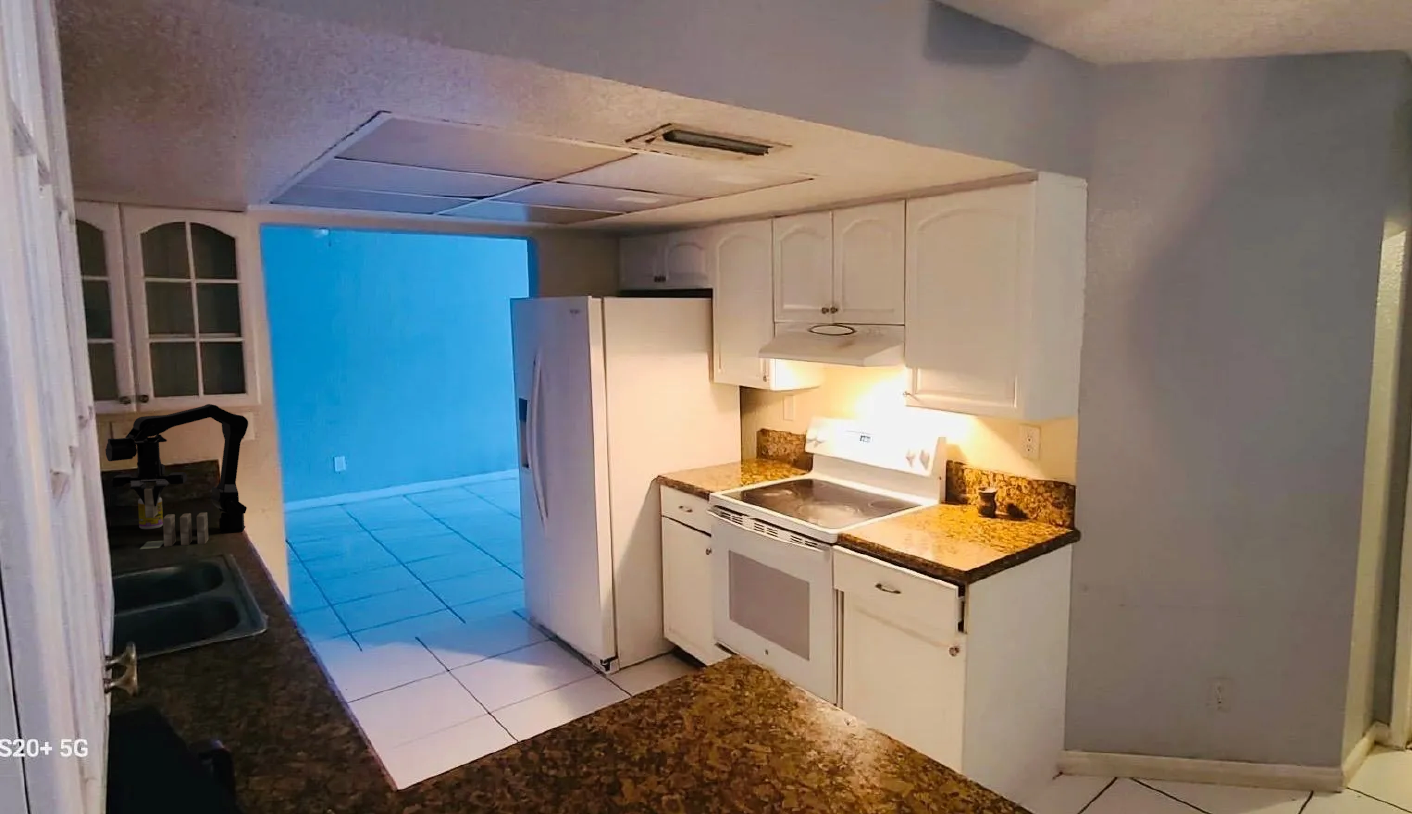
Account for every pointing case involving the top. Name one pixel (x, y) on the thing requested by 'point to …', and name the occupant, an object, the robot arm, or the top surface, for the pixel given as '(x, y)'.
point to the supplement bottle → (150, 522)
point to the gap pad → (152, 545)
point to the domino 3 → (202, 528)
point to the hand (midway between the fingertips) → (151, 506)
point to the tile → (150, 502)
